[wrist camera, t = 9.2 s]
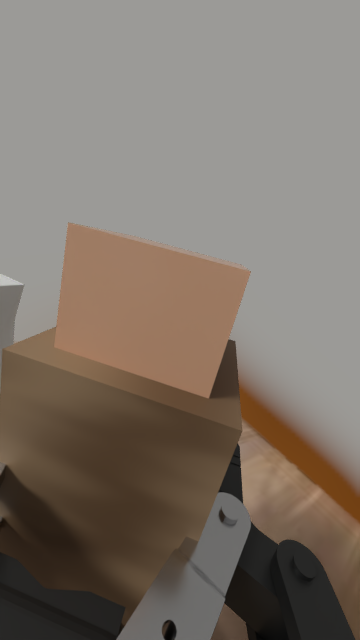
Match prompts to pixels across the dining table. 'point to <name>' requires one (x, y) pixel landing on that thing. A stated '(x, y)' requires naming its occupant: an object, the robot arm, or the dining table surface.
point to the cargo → (147, 307)
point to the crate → (106, 467)
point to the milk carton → (8, 311)
